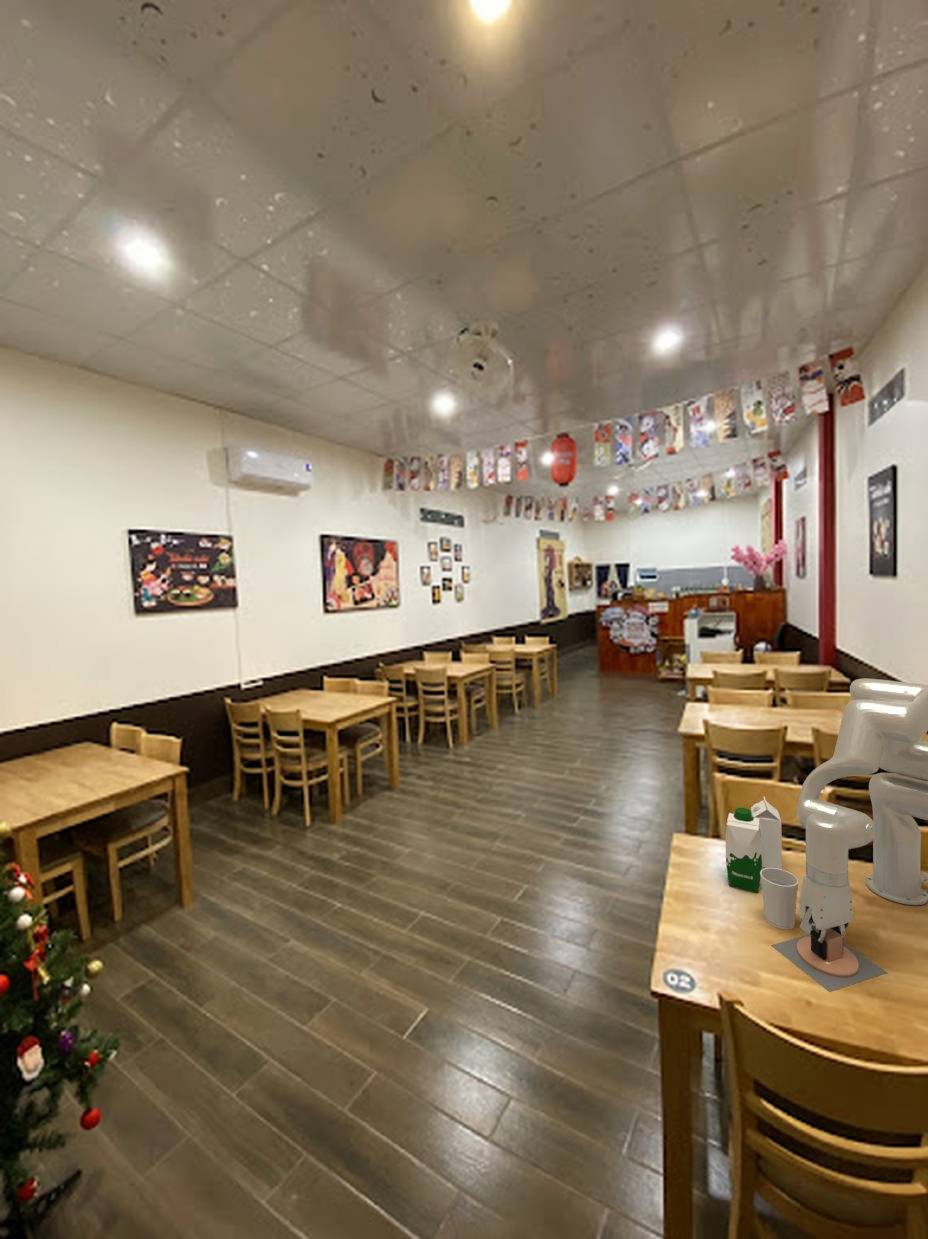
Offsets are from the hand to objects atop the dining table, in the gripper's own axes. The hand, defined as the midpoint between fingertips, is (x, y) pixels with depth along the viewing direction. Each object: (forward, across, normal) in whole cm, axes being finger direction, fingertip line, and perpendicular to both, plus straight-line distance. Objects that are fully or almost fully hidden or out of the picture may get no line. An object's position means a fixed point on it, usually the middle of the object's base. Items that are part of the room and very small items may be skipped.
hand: (827, 952), depth 110 cm
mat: (+2, 0, 0) cm, 2 cm away
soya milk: (+2, -6, -29) cm, 30 cm away
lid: (+1, 0, 0) cm, 1 cm away
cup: (+2, -1, -13) cm, 13 cm away
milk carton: (+2, -20, -35) cm, 40 cm away
